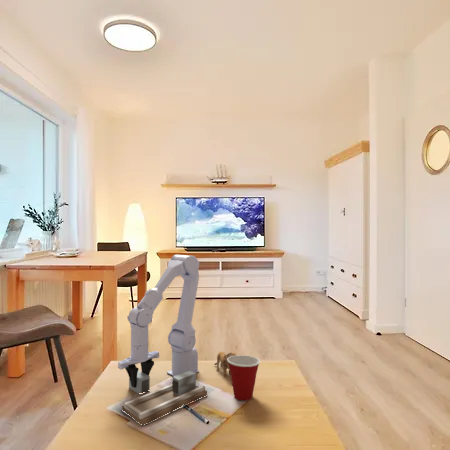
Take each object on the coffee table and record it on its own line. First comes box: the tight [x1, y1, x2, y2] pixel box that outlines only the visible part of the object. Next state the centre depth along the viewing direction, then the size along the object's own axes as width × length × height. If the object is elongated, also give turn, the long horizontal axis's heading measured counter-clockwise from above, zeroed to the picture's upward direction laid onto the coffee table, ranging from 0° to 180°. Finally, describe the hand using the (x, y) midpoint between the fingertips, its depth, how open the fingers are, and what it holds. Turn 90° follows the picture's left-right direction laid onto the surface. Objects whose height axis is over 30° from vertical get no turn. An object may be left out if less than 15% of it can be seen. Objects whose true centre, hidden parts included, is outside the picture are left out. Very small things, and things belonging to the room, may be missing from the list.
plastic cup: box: [227, 354, 261, 402], centre depth 109 cm, size 11×11×12 cm
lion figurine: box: [214, 351, 237, 378], centre depth 127 cm, size 15×5×9 cm, turn 34°
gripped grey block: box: [128, 369, 151, 394], centre depth 113 cm, size 4×7×5 cm, turn 46°
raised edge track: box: [121, 371, 208, 425], centre depth 104 cm, size 24×11×6 cm, turn 136°
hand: (139, 384), depth 113 cm, fingers closed on gripped grey block, 3 cm apart
